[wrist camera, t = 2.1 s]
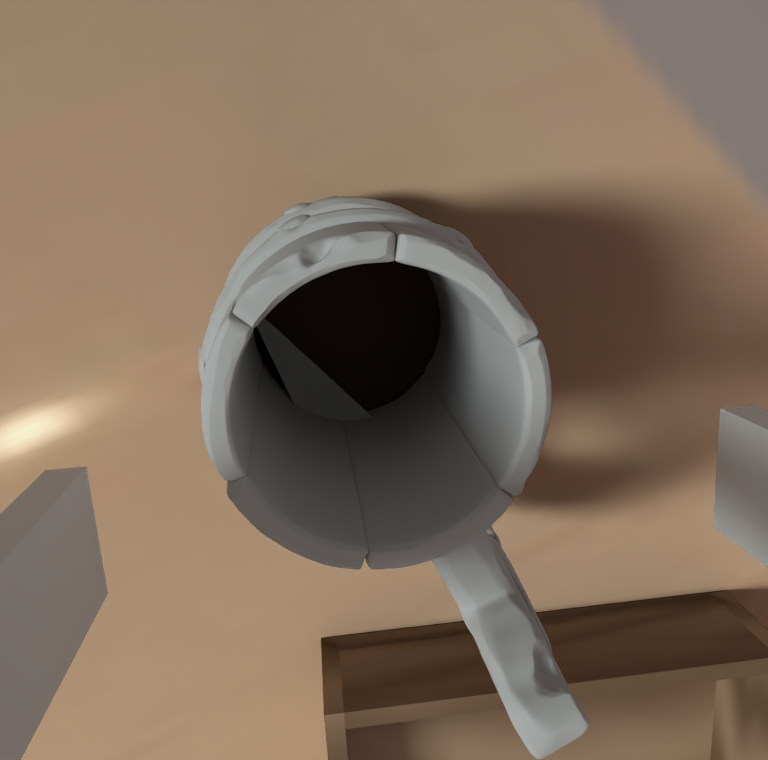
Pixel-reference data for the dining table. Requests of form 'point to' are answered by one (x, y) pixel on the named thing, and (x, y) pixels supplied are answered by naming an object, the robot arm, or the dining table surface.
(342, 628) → the dining table surface
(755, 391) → the dining table surface
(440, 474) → the mug
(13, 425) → the dining table surface
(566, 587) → the dining table surface
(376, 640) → the wooden tray
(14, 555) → the robot arm
